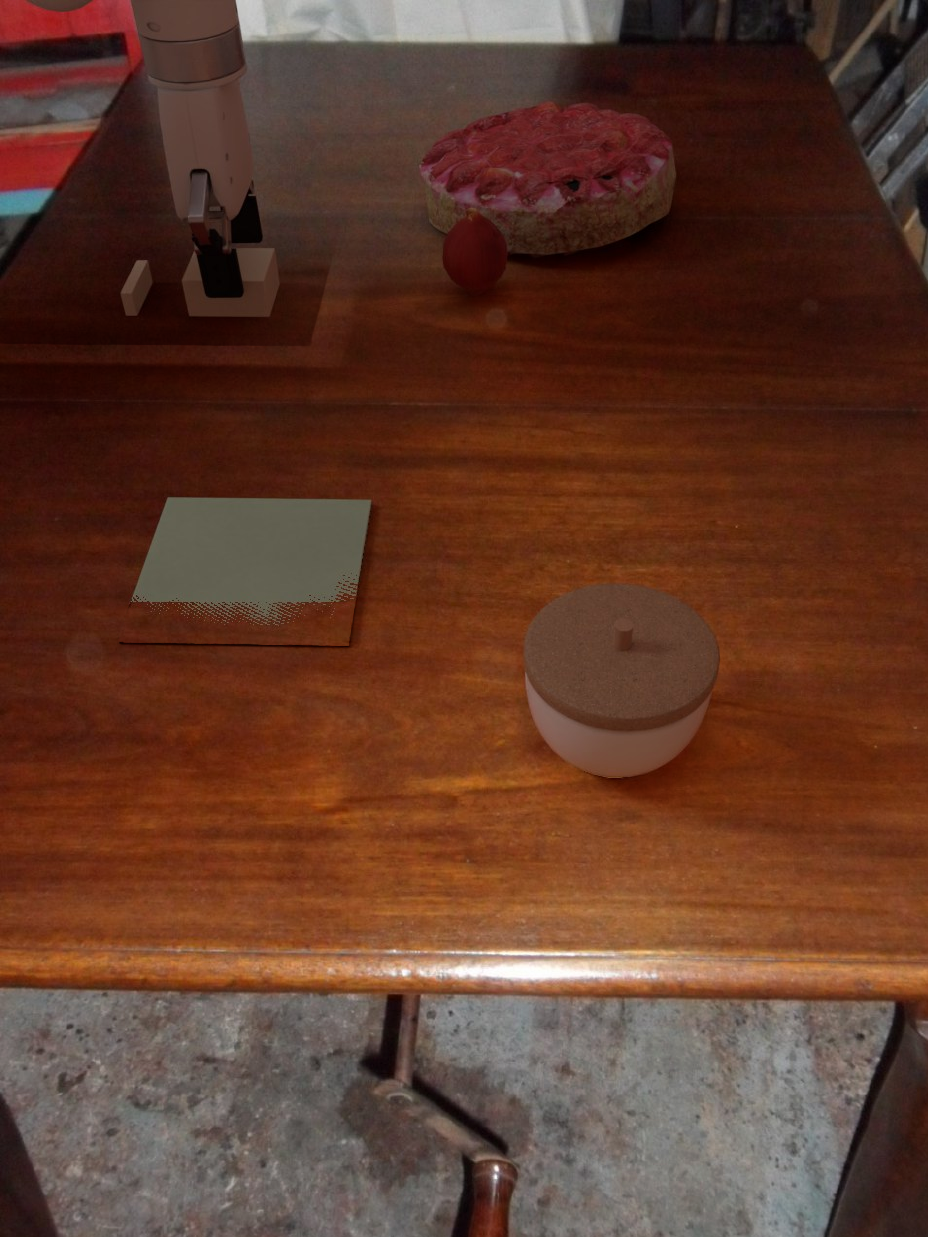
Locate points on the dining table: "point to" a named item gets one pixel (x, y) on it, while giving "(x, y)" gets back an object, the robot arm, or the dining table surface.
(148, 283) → the block with front tab
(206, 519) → the mat
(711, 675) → the trinket box
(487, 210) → the cake
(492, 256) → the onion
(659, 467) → the dining table surface
